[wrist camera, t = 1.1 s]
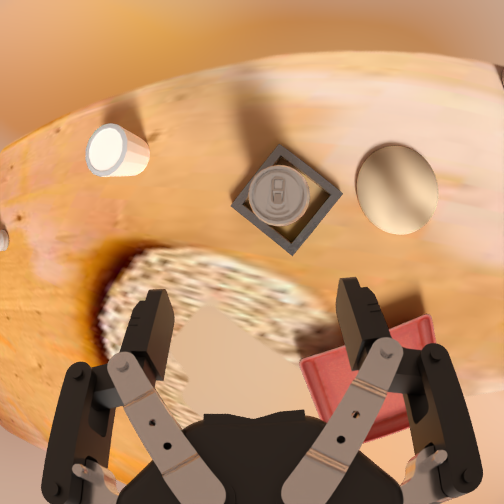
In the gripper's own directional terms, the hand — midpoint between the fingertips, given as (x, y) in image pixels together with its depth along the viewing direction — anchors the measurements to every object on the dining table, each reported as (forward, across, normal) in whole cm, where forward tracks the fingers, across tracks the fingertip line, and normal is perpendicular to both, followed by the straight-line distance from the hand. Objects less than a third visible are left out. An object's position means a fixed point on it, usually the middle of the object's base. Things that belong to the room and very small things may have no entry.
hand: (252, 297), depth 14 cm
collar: (+23, -4, +7) cm, 25 cm away
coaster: (+22, -18, +6) cm, 29 cm away
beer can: (+24, -4, +7) cm, 25 cm away
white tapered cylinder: (+30, +16, +2) cm, 35 cm away
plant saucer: (+10, -16, +29) cm, 34 cm away
